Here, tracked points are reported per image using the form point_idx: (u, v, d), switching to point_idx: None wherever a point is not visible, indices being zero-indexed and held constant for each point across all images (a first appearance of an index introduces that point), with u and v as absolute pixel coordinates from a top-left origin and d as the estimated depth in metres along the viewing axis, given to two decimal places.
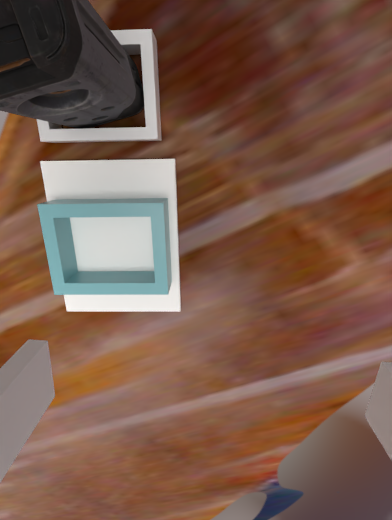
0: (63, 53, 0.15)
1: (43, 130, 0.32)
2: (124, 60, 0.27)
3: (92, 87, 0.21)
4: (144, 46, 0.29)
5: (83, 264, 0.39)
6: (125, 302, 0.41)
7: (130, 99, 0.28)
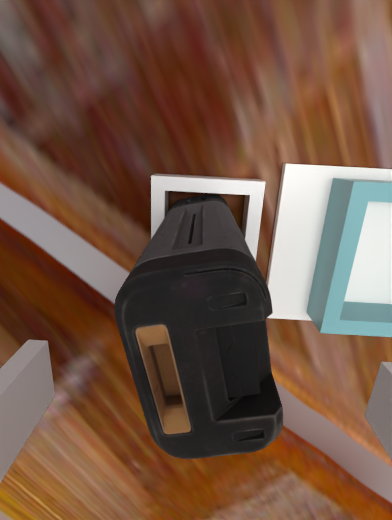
0: (261, 275, 0.11)
1: None
2: (187, 208, 0.23)
3: None
4: (167, 186, 0.26)
5: (391, 297, 0.31)
6: None
7: (228, 208, 0.23)
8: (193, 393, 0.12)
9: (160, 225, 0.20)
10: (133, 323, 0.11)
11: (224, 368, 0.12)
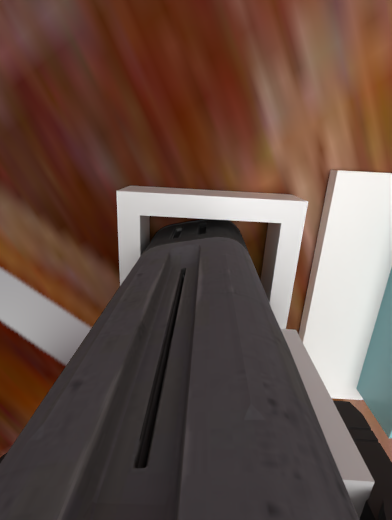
0: None
1: None
2: (172, 252, 0.13)
3: None
4: (143, 208, 0.15)
5: None
6: None
7: (246, 253, 0.13)
8: None
9: (109, 303, 0.10)
10: None
11: None
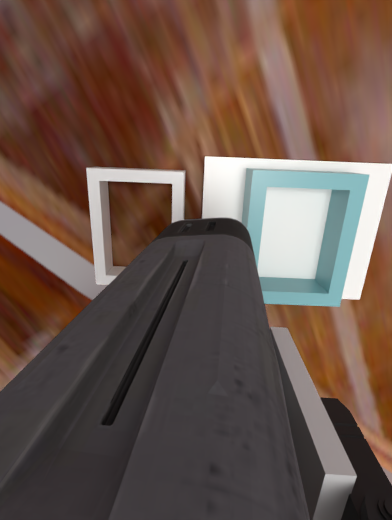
0: None
1: None
2: (178, 244, 0.13)
3: (286, 410, 0.06)
4: (100, 176, 0.30)
5: (308, 272, 0.35)
6: (364, 233, 0.34)
7: (249, 252, 0.13)
8: None
9: None
10: None
11: None
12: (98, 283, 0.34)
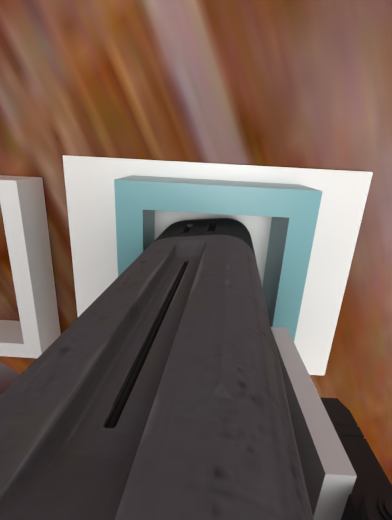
0: None
1: (26, 351, 0.22)
2: (178, 245, 0.13)
3: (289, 412, 0.06)
4: None
5: None
6: (327, 280, 0.21)
7: (250, 253, 0.13)
8: None
9: (110, 285, 0.10)
10: None
11: None
12: None
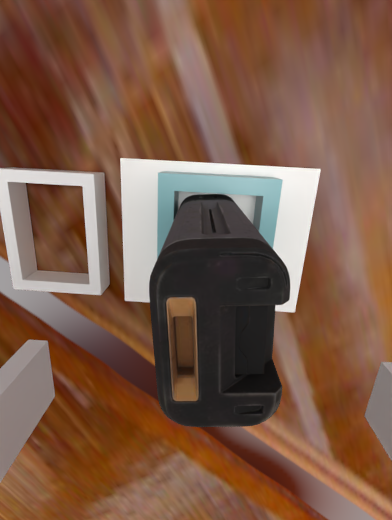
0: (285, 265, 0.12)
1: (91, 290, 0.32)
2: (202, 203, 0.25)
3: None
4: (8, 177, 0.29)
5: None
6: (294, 242, 0.32)
7: None
8: (207, 364, 0.13)
9: (179, 214, 0.21)
10: (166, 293, 0.12)
11: (236, 346, 0.14)
12: (15, 288, 0.33)
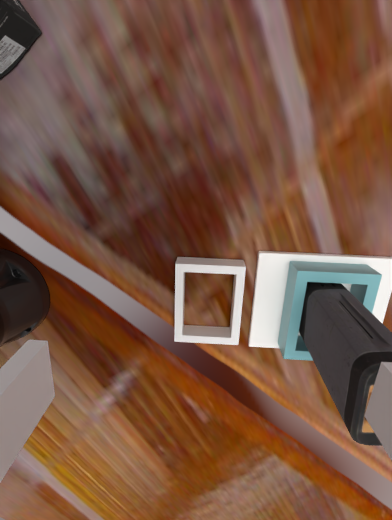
0: None
1: (231, 341, 0.45)
2: (330, 294, 0.38)
3: None
4: (185, 269, 0.42)
5: None
6: (377, 306, 0.45)
7: (355, 297, 0.38)
8: None
9: (328, 310, 0.34)
10: (371, 383, 0.25)
11: None
12: (176, 340, 0.46)
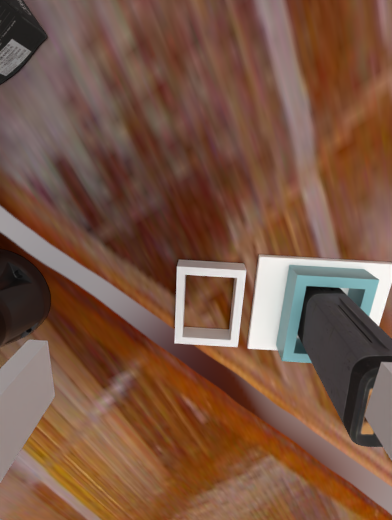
0: None
1: (230, 343, 0.46)
2: (329, 298, 0.38)
3: None
4: (186, 272, 0.42)
5: None
6: (374, 310, 0.46)
7: (353, 301, 0.39)
8: None
9: (328, 315, 0.35)
10: (371, 386, 0.26)
11: None
12: (176, 342, 0.46)
